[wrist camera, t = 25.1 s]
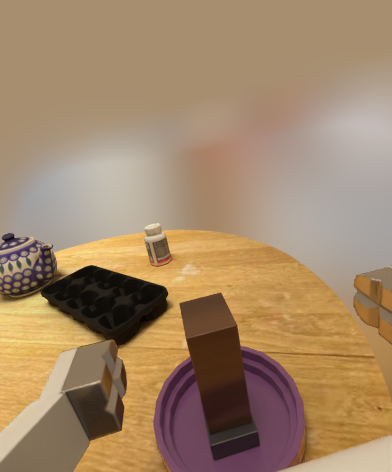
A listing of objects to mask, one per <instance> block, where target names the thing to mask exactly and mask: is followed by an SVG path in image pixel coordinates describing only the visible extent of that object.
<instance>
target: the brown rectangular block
mask: <svg viewBox="0 0 392 472" xmlns="http://www.w3.org/2000/svg"><path fill="white" fill-rule="evenodd" d="M180 308H181V314H182V319H183V325H184V330H185V336H186V341H187V345H188V349H189V353H190V357H191V361H192V365H193V369H194V373H195V377H196V381H197V385H198V389H199V393H200V398H201V403H202V409H203V414H204V419H205V424H206V429H207V434H208V439H209V444H210V448H211V452H212V456H213V460H217V459H220V458H223V457H226V456H229V455H232V454H236V453H239V452H242V451H245V450H248V449H251V448H254V447H257V446H260V441H259V434H258V430H257V427H256V424H255V422H254V419H253V416H252V414H251V410H250V404H249V397H248V391H247V385H246V378H245V372H244V366H243V359H242V353H241V347H240V340H239V334H238V328H237V324H236V322H235V320H234V318H233V316H232V314H231V312H230V310H229V308H228V306H227V304H226V302H225V299H224V297H223V295H222V293H217V294H213V295H209V296H206V297H202V298H198V299H194V300H190V301H186V302H182V303H180Z"/></svg>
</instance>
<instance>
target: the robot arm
mask: <svg viewBox="0 0 392 472" xmlns="http://www.w3.org/2000/svg"><path fill="white" fill-rule="evenodd" d="M354 287H355V288H356V289H357V290H358V291H357V293H356V295H355V296H354V308H355V311H356V313H357V315H358V316H359V317H360V319H361V320H362V321H363V322H365V323H366V324H367V325H369V326H372V327H375V328H378V332H379V335H381V336H382V337H383V338H384V339H386V340H387V341H388V342H389V343H390V344H392V265H391V266H387V267H385V268H383V269H379V270H375V271H371V272H367V273H364V274H360V275H356V277H355V279H354ZM117 353H118V347H117V345H116V343H115V341H114V340H113V339H111V340H106V341H102V342H98V343H94V344H90V345H85V346H81V347H78V348H74V349H70V350H66V351H63V352H62V353H60V354H59V356H58V358H57V361H56V363H55V365H54V367H53V369H52V371H51V373H50V376H49V378H48V380H47V382H46V384H45V386H44V388H43V391H42V393H41V395H40V397H39V399H38V400H36V401H33V402H31V403H30V404H29V405H28V406H27V407H26V408H25V409H24V410H23V411H22V412H21V413H20V414H19V415H18V416H17V417H16V418H15V419H14V420H13V421H12V422H10V423H9V424H8V425H7V426H6V427H5V428H4V429H3V430H2V431H1V432H0V472H73V471H74V469H75V468H76V466H77V464H78V463H79V461H80V459H81V458H82V456H83V454H84V453H85V451H86V449H87V448H88V446H89V444H90V441H91V440H94V439H97V438H100V437H103V436H106V435H109V434H113V433H116V432H119V431H122V423H123V414H124V405H123V402H122V400H121V399H122V398H123V396H124V395H125V393H126V387H127V379H126V371H125V366H124V363H123V361H122V360H121V359H120V358H118V357H117ZM277 472H392V434H391V435H388V436H385V437H382V438H378V439H375V440H372V441H369V442H366V443H363V444H360V445H357V446H354V447H351V448H348V449H344V450H341V451H338V452H335V453H332V454H329V455H326V456H323V457H320V458H317V459H314V460H311V461H307V462H304V463H301V464H298V465H295V466H292V467H289V468H286V469H283V470H280V471H277Z"/></svg>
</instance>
